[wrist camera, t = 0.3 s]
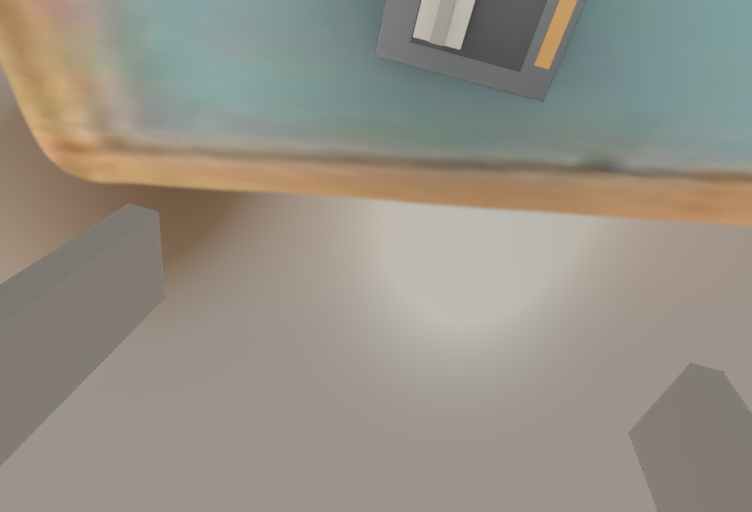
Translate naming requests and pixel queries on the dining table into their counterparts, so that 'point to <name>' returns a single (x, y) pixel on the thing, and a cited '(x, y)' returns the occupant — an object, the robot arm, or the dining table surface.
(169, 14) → the dining table surface
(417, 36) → the switch tab
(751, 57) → the dining table surface
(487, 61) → the switch board
